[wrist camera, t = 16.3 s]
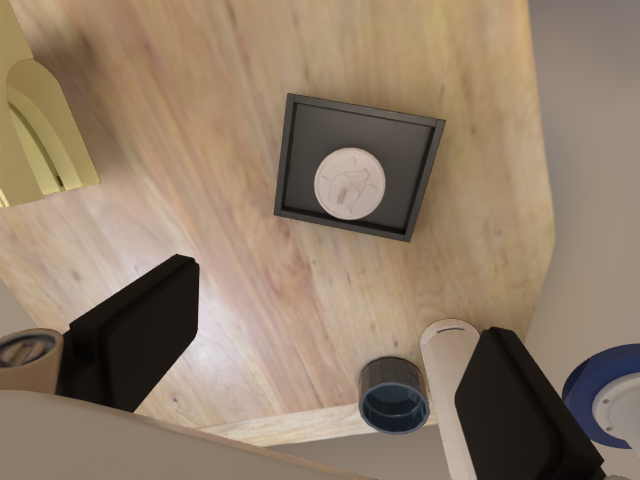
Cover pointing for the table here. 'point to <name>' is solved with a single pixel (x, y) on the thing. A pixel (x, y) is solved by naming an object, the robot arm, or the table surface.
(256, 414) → the table surface
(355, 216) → the smoothie
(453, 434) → the bottle
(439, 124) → the tray
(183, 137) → the table surface
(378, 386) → the bowl
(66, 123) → the slatted curved stool
